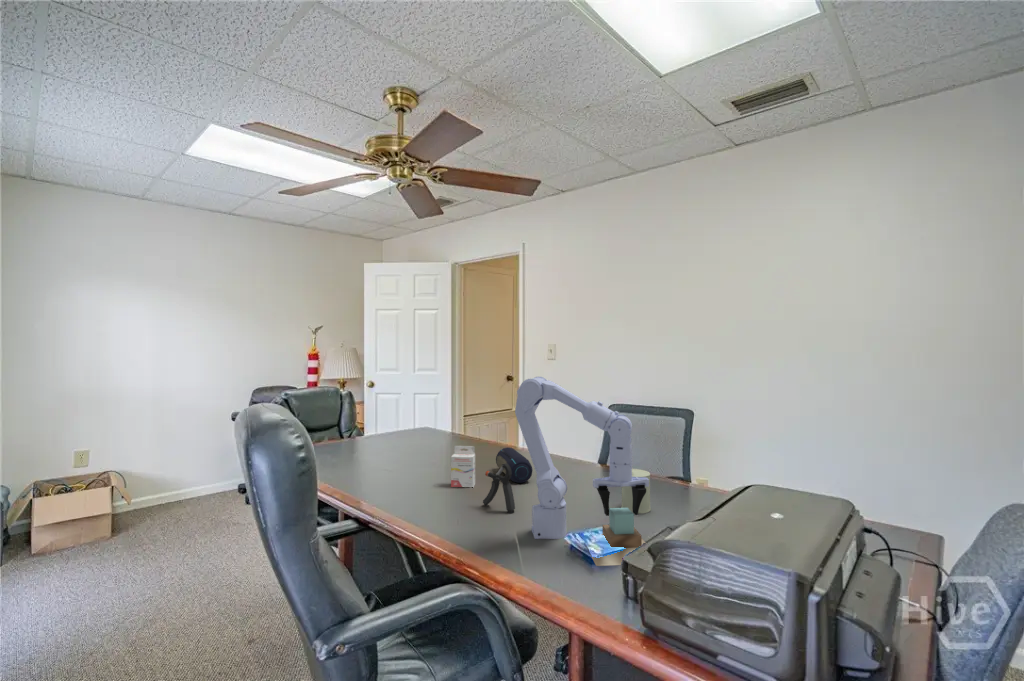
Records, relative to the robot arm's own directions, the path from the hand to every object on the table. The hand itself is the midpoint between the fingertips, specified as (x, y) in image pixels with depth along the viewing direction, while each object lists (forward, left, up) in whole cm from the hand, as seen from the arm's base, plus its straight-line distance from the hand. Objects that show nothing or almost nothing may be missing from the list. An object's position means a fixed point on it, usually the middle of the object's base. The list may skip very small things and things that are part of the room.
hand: (621, 514), depth 126 cm
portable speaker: (-23, +68, -9) cm, 73 cm away
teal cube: (0, 0, -4) cm, 4 cm away
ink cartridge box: (-43, +57, -8) cm, 72 cm away
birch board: (-2, -4, -8) cm, 9 cm away
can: (+13, +27, -8) cm, 31 cm away
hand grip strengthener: (-31, +31, -8) cm, 45 cm away
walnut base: (0, 0, -8) cm, 8 cm away
